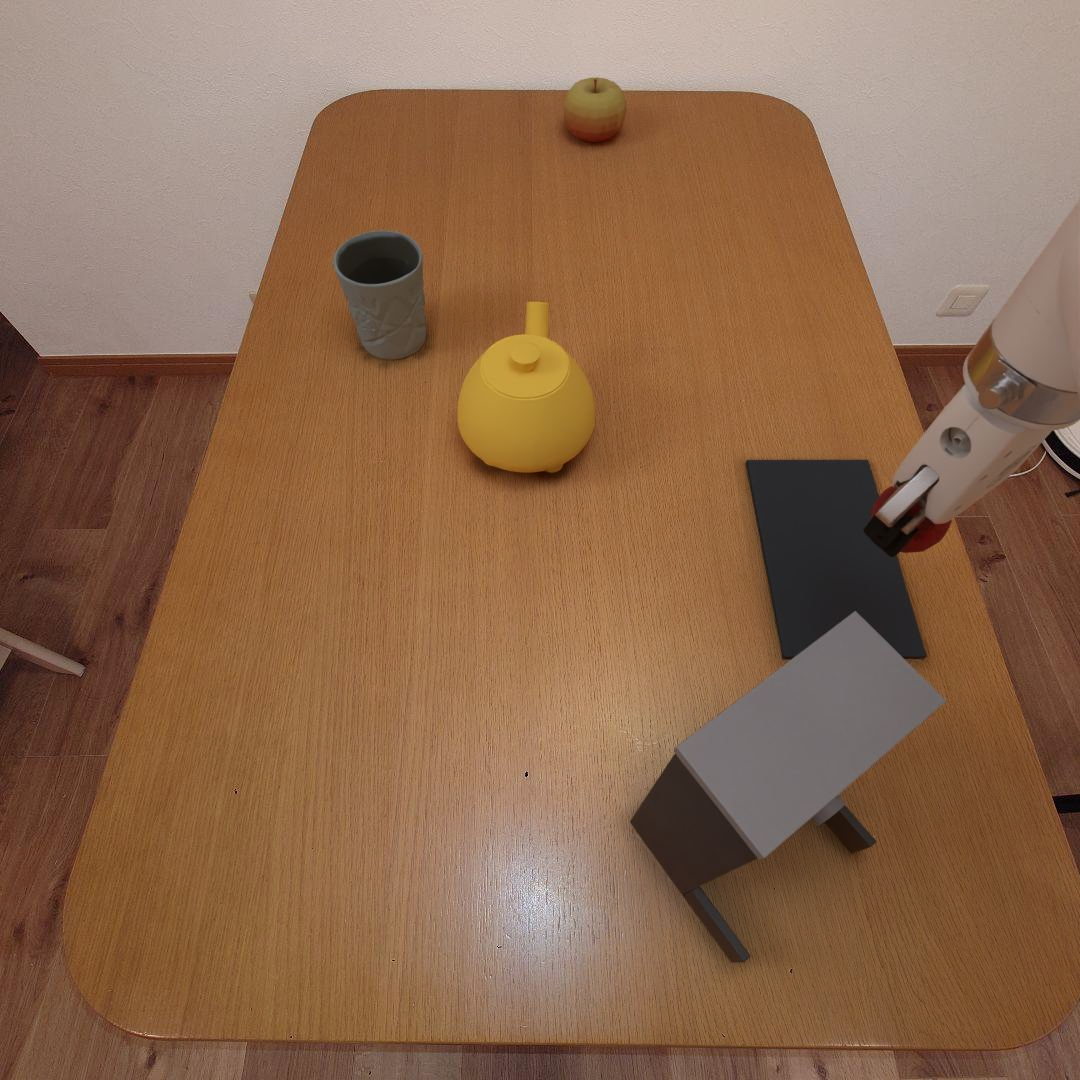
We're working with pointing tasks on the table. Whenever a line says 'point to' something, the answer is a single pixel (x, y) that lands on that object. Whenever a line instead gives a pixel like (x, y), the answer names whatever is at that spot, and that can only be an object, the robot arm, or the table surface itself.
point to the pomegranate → (927, 529)
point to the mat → (827, 553)
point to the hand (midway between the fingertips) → (907, 522)
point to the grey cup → (384, 291)
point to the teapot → (526, 401)
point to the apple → (594, 109)
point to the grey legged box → (781, 763)
